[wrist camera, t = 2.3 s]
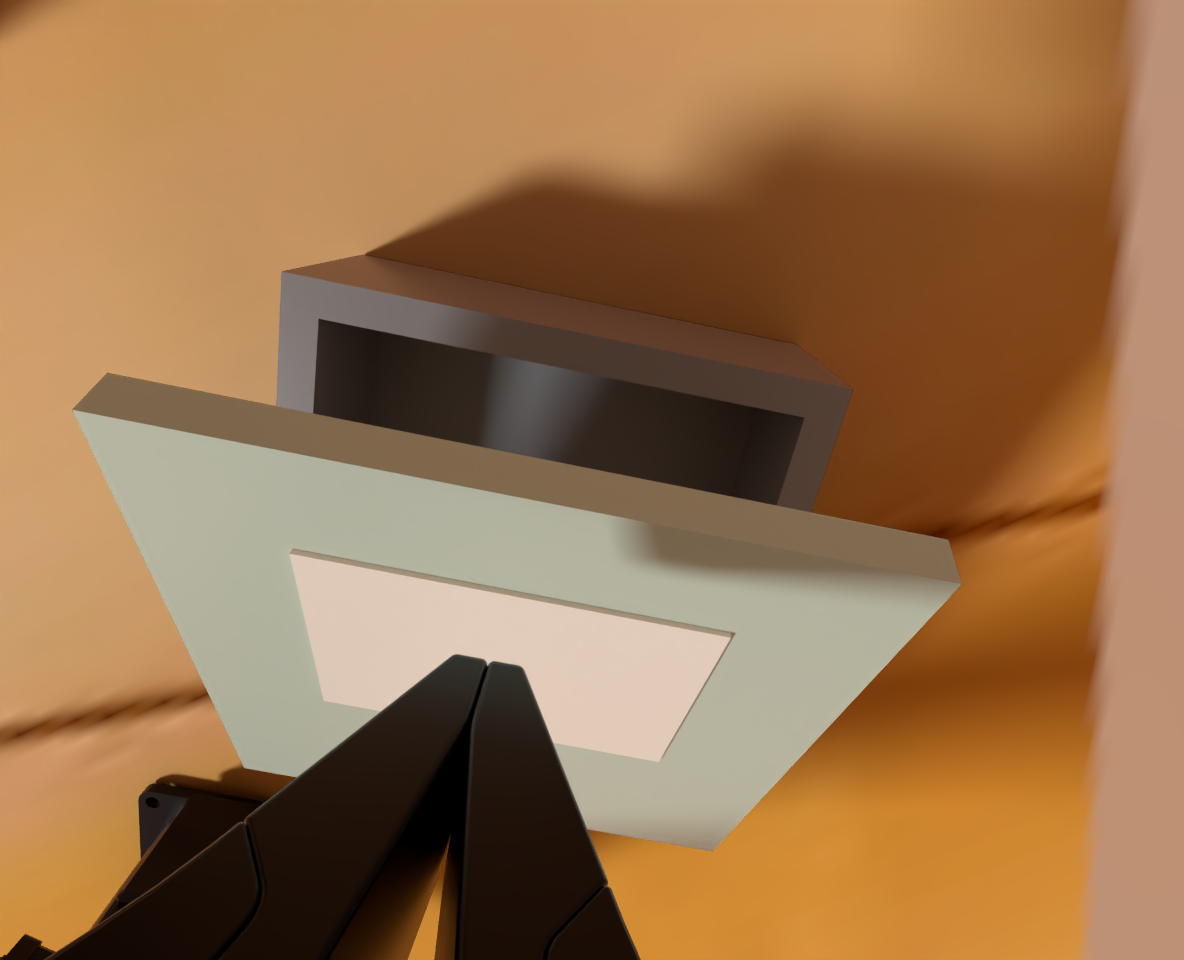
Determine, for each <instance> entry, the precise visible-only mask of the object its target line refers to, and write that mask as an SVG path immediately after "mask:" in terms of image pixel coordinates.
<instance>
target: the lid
mask: <svg viewBox="0 0 1184 960" xmlns="http://www.w3.org/2000/svg"><path fill="white" fill-rule="evenodd" d="M72 411H73V413H74V415H75V417H76V419H77V421H78V423H79V425H80V427H81V429H82V431H83V434H84V436H85V438H86V440H87V442H88V444H89V446H90V448H91V450H92V452H93V454H94V456H95V459H96V461H97V463H98V465H99V467H100V469H101V471H102V473H103V475H104V477H105V479H106V481H107V483H108V486H109V488H110V490H111V492H112V494H113V496H114V498H115V500H116V502H117V504H118V506H119V508H120V511H121V513H122V515H123V517H124V519H125V521H126V523H127V525H128V527H129V529H130V531H131V533H132V536H133V538H134V540H135V542H136V544H137V546H138V548H139V550H140V552H141V554H142V556H143V558H144V561H145V563H146V565H147V567H148V569H149V571H150V573H151V575H152V577H153V579H154V581H155V583H156V585H157V588H158V590H159V592H160V594H161V596H162V598H163V600H164V602H165V604H166V606H167V608H168V610H169V613H170V615H171V617H172V619H173V621H174V623H175V625H176V627H177V629H178V631H179V633H180V635H181V638H182V640H183V642H184V644H185V646H186V648H187V650H188V652H189V654H190V656H191V658H192V660H193V663H194V665H195V667H196V669H197V671H198V673H199V675H200V677H201V679H202V681H203V683H204V685H205V688H206V690H207V692H208V694H209V696H210V698H211V700H212V702H213V704H214V706H215V708H216V710H217V712H218V715H219V717H220V719H221V721H222V723H223V725H224V727H225V729H226V731H227V733H228V735H229V737H230V740H231V742H232V744H233V746H234V748H235V750H236V752H237V754H238V756H239V758H240V760H241V762H242V765H243V767H244V768H247V769H252V770H258V771H264V772H269V773H275V774H281V775H286V776H292V777H298V776H299V775H300V774H302V773H303V772H304V771H305V770H307V769H308V768H309V767H311V766H312V765H313V764H314V763H316V762H317V761H318V760H319V759H321V758H322V757H323V756H325V755H326V754H327V753H328V752H330V751H331V750H332V749H333V748H335V747H336V746H337V745H339V744H340V743H341V742H342V741H344V740H345V739H346V738H347V737H349V736H350V735H351V734H353V733H354V732H355V731H356V730H358V729H359V728H360V727H361V726H363V725H364V724H365V723H367V722H368V721H369V720H370V719H372V718H373V717H374V716H375V715H377V714H378V713H379V712H381V711H382V710H383V709H384V708H386V707H387V706H388V705H389V704H391V703H392V702H393V701H395V700H396V699H397V698H398V697H400V696H401V695H402V694H403V693H405V692H406V691H407V690H409V689H410V688H411V687H412V686H414V685H415V684H416V683H417V682H419V681H420V680H421V679H423V678H424V677H425V676H426V675H428V674H429V673H430V672H431V671H433V670H434V669H435V668H437V667H438V666H439V665H440V664H442V663H443V662H444V661H446V660H447V659H448V658H449V657H451V656H452V655H455V654H460V655H466V656H471V657H476V658H482V659H485V660H486V662H487V666H488V664H489V663H490V662H492V661H498V662H503V663H509V664H514V665H519V666H521V667H522V668H523V669H524V670H525V673H526V675H527V678H528V680H529V683H530V685H531V688H532V690H533V693H534V695H535V698H536V700H537V703H538V706H539V708H540V711H541V713H542V716H543V718H544V721H545V723H546V726H547V728H548V731H549V733H550V736H551V738H552V741H553V744H554V746H555V749H556V751H557V754H558V756H559V759H560V761H561V764H562V766H563V769H564V771H565V774H566V776H567V779H568V782H569V784H570V787H571V789H572V792H573V794H574V797H575V799H576V802H577V804H578V807H579V809H580V812H581V814H582V817H583V820H584V822H585V825H586V827H587V829H589V830H595V831H600V832H606V833H612V834H617V835H623V836H628V837H634V838H640V839H645V840H651V841H656V842H662V843H668V844H673V845H679V846H684V847H690V848H696V849H701V850H707V851H713V850H714V849H715V848H716V847H717V846H718V845H719V844H720V843H721V842H722V841H723V840H724V839H725V837H726V836H727V835H728V834H729V833H730V832H731V831H732V830H733V829H734V828H735V827H736V826H737V825H738V824H739V822H740V821H741V820H742V819H743V818H744V817H745V816H746V815H747V814H748V813H749V812H750V811H751V810H752V808H753V807H754V806H755V805H756V804H757V803H758V802H759V801H760V800H761V799H762V798H763V797H764V796H765V795H766V793H767V792H768V791H769V790H770V789H771V788H772V787H773V786H774V785H775V784H776V783H777V782H778V781H779V780H780V778H781V777H782V776H783V775H784V774H785V773H786V772H787V771H788V770H789V769H790V768H791V767H792V766H793V765H794V763H795V762H796V761H797V760H798V759H799V758H800V757H801V756H802V755H803V754H804V753H805V752H806V751H807V750H808V748H809V747H810V746H811V745H812V744H813V743H814V742H815V741H816V740H817V739H818V738H819V737H820V736H821V735H822V733H823V732H824V731H825V730H826V729H827V728H828V727H829V726H830V725H831V724H832V723H833V722H834V721H835V720H836V718H837V717H838V716H839V715H840V714H841V713H842V712H843V711H844V710H845V709H846V708H847V707H848V706H849V705H850V703H851V702H852V701H853V700H854V699H855V698H856V697H857V696H858V695H859V694H860V693H861V692H862V691H863V690H864V688H865V687H866V686H867V685H868V684H869V683H870V682H871V681H872V680H873V679H874V678H875V677H876V676H877V675H878V673H879V672H880V671H881V670H882V669H883V668H884V667H885V666H886V665H887V664H888V663H889V662H890V661H891V660H892V658H893V657H894V656H895V655H896V654H897V653H898V652H899V651H900V650H901V649H902V648H903V647H904V646H905V645H906V643H907V642H908V641H909V640H910V639H911V638H912V637H913V636H914V635H915V634H916V633H917V632H918V631H919V630H920V628H921V627H922V626H923V625H924V624H925V623H926V622H927V621H928V620H929V619H930V618H931V617H932V616H933V615H934V613H935V612H936V611H937V610H938V609H939V608H940V607H941V606H942V605H943V604H944V603H945V602H946V601H947V600H948V598H949V597H950V596H951V595H952V594H953V593H954V592H955V591H956V590H957V589H958V588H959V587H960V586H961V585H962V583H961V580H960V576H959V573H958V570H957V566H956V563H955V560H954V556H953V553H952V550H951V546H950V543H949V540H948V539H943V538H938V537H933V536H927V535H922V534H917V533H912V532H907V531H902V530H897V529H892V528H887V527H882V526H877V525H872V524H867V523H862V522H857V521H852V520H847V519H842V518H837V517H832V516H827V515H822V514H817V513H812V512H806V511H801V510H796V509H791V508H786V507H781V506H776V505H771V504H766V503H761V502H756V501H751V500H746V499H741V498H736V497H731V496H726V495H721V494H716V493H711V492H706V491H701V490H696V489H691V488H686V487H680V486H675V485H670V484H665V483H660V482H655V481H650V480H645V479H640V478H635V477H630V476H625V475H620V474H615V473H610V472H605V471H600V470H595V469H590V468H585V467H580V466H575V465H570V464H565V463H559V462H554V461H549V460H544V459H539V458H534V457H529V456H524V455H519V454H514V453H509V452H504V451H499V450H494V449H489V448H484V447H479V446H474V445H469V444H464V443H459V442H454V441H449V440H444V439H439V438H433V437H428V436H423V435H418V434H413V433H408V432H403V431H398V430H393V429H388V428H383V427H378V426H373V425H368V424H363V423H358V422H353V421H348V420H343V419H338V418H333V417H328V416H323V415H318V414H312V413H307V412H302V411H297V410H292V409H287V408H282V407H277V406H272V405H267V404H262V403H257V402H252V401H247V400H242V399H237V398H232V397H227V396H222V395H217V394H212V393H207V392H202V391H197V390H192V389H186V388H181V387H176V386H171V385H166V384H161V383H156V382H151V381H146V380H141V379H136V378H131V377H126V376H121V375H116V374H111V373H107V374H106V375H105V376H104V377H103V378H102V379H101V380H100V381H99V382H98V383H97V384H96V385H95V386H94V387H93V388H92V389H91V390H90V392H89V393H88V394H87V395H86V396H85V397H84V398H83V399H82V400H81V401H80V402H79V403H78V404H77V405H76V406H75V407H74V408H73V409H72Z"/></svg>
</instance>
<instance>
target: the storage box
mask: <svg viewBox="0 0 1184 960" xmlns="http://www.w3.org/2000/svg"><path fill="white" fill-rule="evenodd" d="M852 391H853V388H851V387H850V386H849V385H847V384H846V383H845V382H844V381H842V380H841V379H840V378H839V377H837V376H836V375H835V374H834V373H832V372H831V371H830V370H829V369H827V368H826V367H825V366H824V365H822V364H821V363H820V362H819V361H817V360H816V359H815V358H814V357H812V356H811V355H810V354H809V353H807V352H806V351H805V350H804V349H802V348H801V347H800V346H799V345H796V344H791V343H786V342H782V341H777V340H772V339H767V338H762V337H757V336H753V335H748V334H743V333H738V332H733V331H729V330H724V329H719V328H714V327H709V326H705V325H700V324H695V323H690V322H685V321H680V320H676V319H671V318H666V317H661V316H656V315H652V314H647V313H642V312H637V311H632V310H627V309H623V308H618V307H613V306H608V305H603V304H599V303H594V302H589V301H584V300H579V299H574V298H570V297H565V296H560V295H555V294H550V293H546V292H541V291H536V290H531V289H526V288H522V287H517V286H512V285H507V284H502V283H497V282H493V281H488V280H483V279H478V278H473V277H469V276H464V275H459V274H454V273H449V272H444V271H440V270H435V269H430V268H425V267H420V266H416V265H411V264H406V263H401V262H396V261H392V260H387V259H382V258H377V257H372V256H367V255H359V256H354V257H349V258H344V259H339V260H335V261H330V262H325V263H320V264H315V265H310V266H306V267H301V268H296V269H291V270H286V271H282V274H281V300H280V325H279V351H278V376H277V402H276V406H277V407H282V408H287V409H292V410H297V411H302V412H307V413H312V414H318V415H323V416H328V417H333V418H338V419H343V420H348V421H353V422H358V423H363V424H368V425H373V426H378V427H383V428H388V429H393V430H398V431H403V432H408V433H413V434H418V435H423V436H428V437H433V438H439V439H444V440H449V441H454V442H459V443H464V444H469V445H474V446H479V447H484V448H489V449H494V450H499V451H504V452H509V453H514V454H519V455H524V456H529V457H534V458H539V459H544V460H549V461H554V462H559V463H565V464H570V465H575V466H580V467H585V468H590V469H595V470H600V471H605V472H610V473H615V474H620V475H625V476H630V477H635V478H640V479H645V480H650V481H655V482H660V483H665V484H670V485H675V486H680V487H686V488H691V489H696V490H701V491H706V492H711V493H716V494H721V495H726V496H731V497H736V498H741V499H746V500H751V501H756V502H761V503H766V504H771V505H776V506H781V507H786V508H791V509H796V510H801V511H806V512H812V509H813V506H814V503H815V500H816V497H817V494H818V491H819V488H820V486H821V483H822V480H823V477H824V474H825V471H826V468H827V465H828V462H829V459H830V456H831V453H832V450H833V447H834V444H835V441H836V438H837V436H838V433H839V430H840V427H841V424H842V421H843V418H844V415H845V412H846V409H847V406H848V403H849V400H850V397H851V394H852Z"/></svg>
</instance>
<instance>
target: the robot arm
mask: <svg viewBox="0 0 1184 960" xmlns="http://www.w3.org/2000/svg"><path fill="white" fill-rule="evenodd" d="M138 801H139V825H140V849H141V860H140V861H139V863H138V864H137V865H136V867H135V868H134V870H133V871H132V872H131V874H130V875H129V876H128V878H127V879H126V881H125V882H124V883H123V885H122V886H121V887H120V889H119V890H118V892H117V893H116V894H115V896H114V897H113V899H112V900H111V901H110V903H109V904H108V905H107V907H106V908H105V910H104V911H103V912H102V914H101V915H100V916H99V918H98V919H97V921H96V922H95V923H94V925H93V926H92V927H91V929H90V930H89V931H88V932H86V933H85V934H83V935H82V936H80V937H78V938H77V939H75V940H74V941H72V942H71V943H69V944H68V945H66V946H65V947H63V948H61V949H60V950H58V951H57V952H55V951H53V950H50V949H48V948H46V947H44V946H41V944H42V941H40V940H38V939H36V938H34V937H31V936H29V935H27V934H25V935H24V936H23V937H22V938H21V939H20V940H19V941H18V943H17V944H16V945H15V946H14V947H13V948H12V949H11V951H10V952H9V953H8V954H7V955H4V956H3V957H0V960H407V959H408V957H409V954H410V951H411V949H412V946H413V943H414V941H415V938H416V935H417V932H418V930H419V927H420V924H421V922H422V919H423V916H424V914H425V911H426V908H427V905H428V903H429V900H430V897H431V895H432V892H433V889H434V887H435V884H436V881H437V878H438V876H439V873H440V870H441V867H442V864H443V861H444V858H445V855H446V851H447V848H448V844H449V848H448V854H447V860H446V867H445V874H444V881H443V890H442V899H441V907H440V916H439V925H438V933H437V942H436V951H435V959H434V960H641V959H640V957H639V955H638V952H637V950H636V948H635V946H634V943H633V941H632V939H631V936H630V934H629V932H628V929H627V927H626V925H625V922H624V920H623V917H622V915H621V912H620V910H619V907H618V905H617V902H616V900H615V897H614V895H613V892H612V890H611V888H610V887H608V886H607V885H608V880H607V878H606V875H605V873H604V870H603V868H602V865H601V863H600V860H599V858H598V855H597V852H596V850H595V847H594V845H593V842H592V840H591V837H590V835H589V832H588V830H587V827H586V825H585V822H584V820H583V817H582V814H581V812H580V809H579V807H578V804H577V802H576V799H575V797H574V794H573V792H572V789H571V787H570V784H569V782H568V779H567V776H566V774H565V771H564V769H563V766H562V764H561V761H560V759H559V756H558V754H557V751H556V749H555V746H554V744H553V741H552V738H551V736H550V733H549V731H548V728H547V726H546V723H545V721H544V718H543V716H542V713H541V711H540V708H539V706H538V703H537V700H536V698H535V695H534V693H533V690H532V688H531V685H530V683H529V680H528V678H527V675H526V673H525V670H524V669H523V668H522V667H521V666H519V665H514V664H509V663H503V662H498V661H492V662H490V663H489V664H488V666H487V662H486V660H485V659H482V658H476V657H471V656H466V655H460V654H455V655H452V656H451V657H449V658H448V659H447V660H446V661H444V662H443V663H442V664H440V665H439V666H438V667H437V668H435V669H434V670H433V671H431V672H430V673H429V674H428V675H426V676H425V677H424V678H423V679H421V680H420V681H419V682H417V683H416V684H415V685H414V686H412V687H411V688H410V689H409V690H407V691H406V692H405V693H403V694H402V695H401V696H400V697H398V698H397V699H396V700H395V701H393V702H392V703H391V704H389V705H388V706H387V707H386V708H384V709H383V710H382V711H381V712H379V713H378V714H377V715H375V716H374V717H373V718H372V719H370V720H369V721H368V722H367V723H365V724H364V725H363V726H361V727H360V728H359V729H358V730H356V731H355V732H354V733H353V734H351V735H350V736H349V737H347V738H346V739H345V740H344V741H342V742H341V743H340V744H339V745H337V746H336V747H335V748H333V749H332V750H331V751H330V752H328V753H327V754H326V755H325V756H323V757H322V758H321V759H319V760H318V761H317V762H316V763H314V764H313V765H312V766H311V767H309V768H308V769H307V770H305V771H304V772H303V773H302V774H300V775H299V776H298V777H297V778H295V779H294V780H293V781H291V782H290V783H289V784H288V785H286V786H285V787H284V788H283V789H281V790H280V791H279V792H277V793H276V794H275V795H274V796H272V797H271V798H270V799H268V800H267V801H266V802H260V801H254V800H249V799H243V798H237V797H232V796H226V795H220V794H215V793H209V792H203V791H198V790H192V789H186V788H181V787H175V786H169V785H164V784H151V785H149V786H148V787H147V788H146V789H145V790H144V791H143V793H142V794H141V795H140V796H139V800H138ZM449 840H450V842H449Z"/></svg>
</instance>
